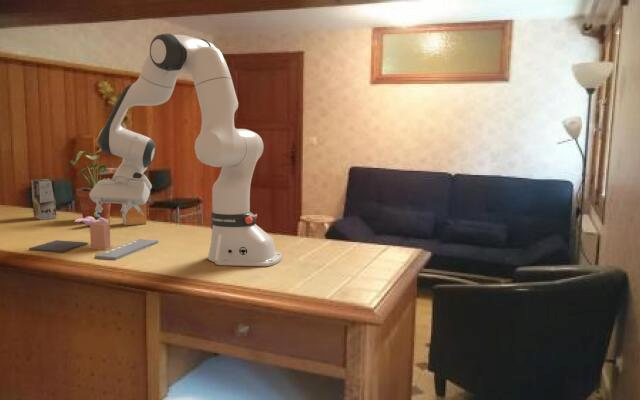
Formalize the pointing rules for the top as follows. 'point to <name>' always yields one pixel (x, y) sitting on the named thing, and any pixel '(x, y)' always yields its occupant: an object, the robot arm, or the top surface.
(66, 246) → the mat
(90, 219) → the rabbit figure
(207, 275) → the top surface
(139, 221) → the small box
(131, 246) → the plate
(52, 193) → the coffee box
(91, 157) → the potted plant
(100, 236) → the stub block
